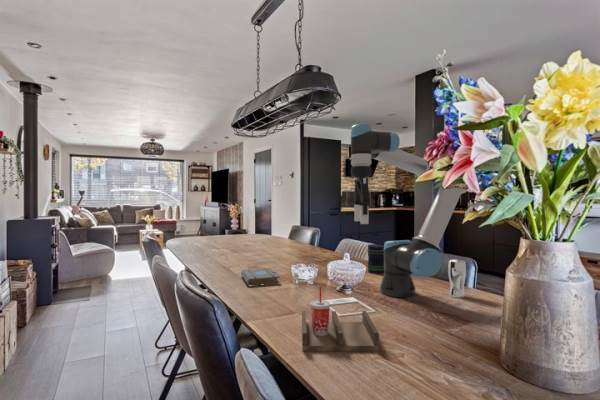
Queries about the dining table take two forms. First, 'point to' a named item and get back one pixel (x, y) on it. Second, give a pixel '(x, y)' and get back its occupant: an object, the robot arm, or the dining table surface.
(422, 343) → the dining table surface
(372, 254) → the storage jar
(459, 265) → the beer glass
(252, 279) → the book
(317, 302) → the beverage cup
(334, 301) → the photo frame
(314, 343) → the divided wooden tray
